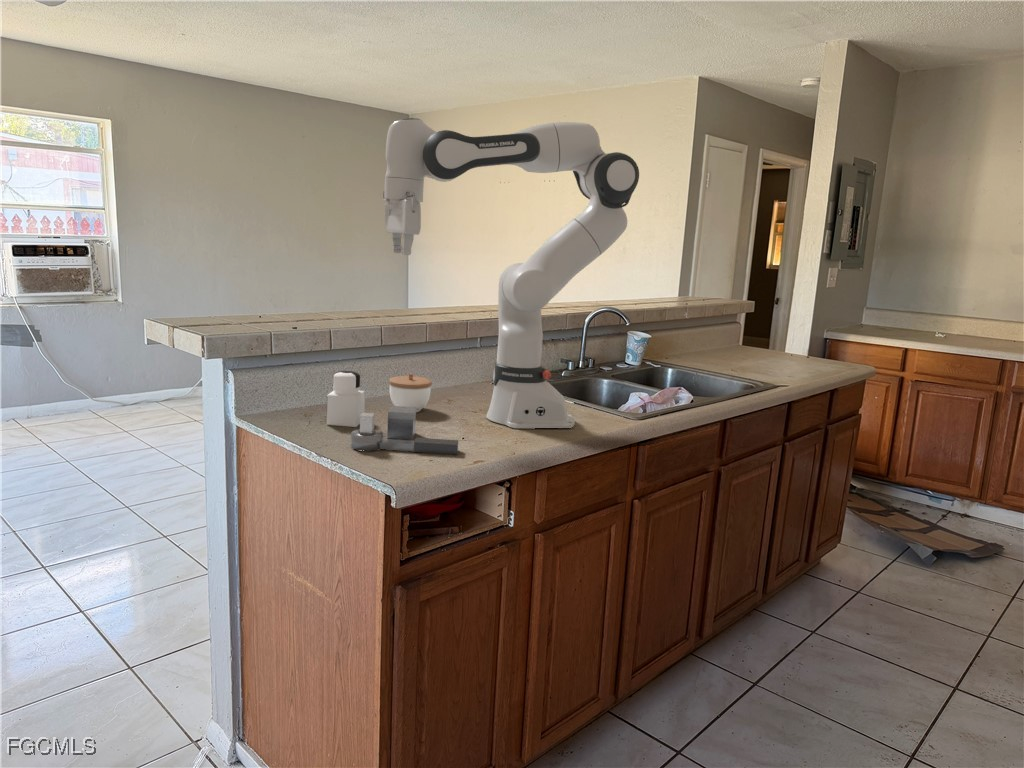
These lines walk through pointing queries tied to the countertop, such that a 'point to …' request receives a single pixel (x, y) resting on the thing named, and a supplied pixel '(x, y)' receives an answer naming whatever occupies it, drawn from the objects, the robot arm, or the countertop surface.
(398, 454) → the countertop surface
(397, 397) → the lidded jar
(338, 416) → the medicine bottle
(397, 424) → the grey metal cube
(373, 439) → the ratchet
